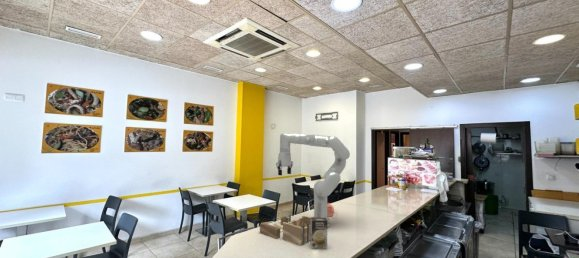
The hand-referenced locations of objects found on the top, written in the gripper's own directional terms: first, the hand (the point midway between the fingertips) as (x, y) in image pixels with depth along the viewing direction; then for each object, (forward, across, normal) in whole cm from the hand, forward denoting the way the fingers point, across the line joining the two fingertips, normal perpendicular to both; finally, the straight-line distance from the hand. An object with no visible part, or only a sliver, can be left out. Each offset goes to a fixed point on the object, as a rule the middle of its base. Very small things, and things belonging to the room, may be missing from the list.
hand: (284, 174), depth 173 cm
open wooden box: (+36, +8, +22) cm, 43 cm away
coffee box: (+36, +12, +38) cm, 54 cm away
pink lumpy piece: (+37, -48, +6) cm, 61 cm away
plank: (+36, +18, +4) cm, 41 cm away
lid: (+37, +5, 0) cm, 37 cm away
